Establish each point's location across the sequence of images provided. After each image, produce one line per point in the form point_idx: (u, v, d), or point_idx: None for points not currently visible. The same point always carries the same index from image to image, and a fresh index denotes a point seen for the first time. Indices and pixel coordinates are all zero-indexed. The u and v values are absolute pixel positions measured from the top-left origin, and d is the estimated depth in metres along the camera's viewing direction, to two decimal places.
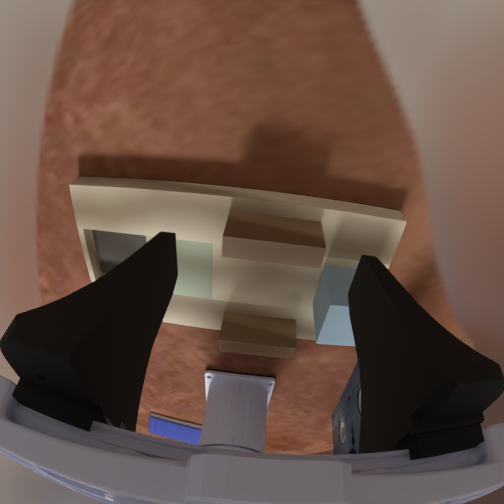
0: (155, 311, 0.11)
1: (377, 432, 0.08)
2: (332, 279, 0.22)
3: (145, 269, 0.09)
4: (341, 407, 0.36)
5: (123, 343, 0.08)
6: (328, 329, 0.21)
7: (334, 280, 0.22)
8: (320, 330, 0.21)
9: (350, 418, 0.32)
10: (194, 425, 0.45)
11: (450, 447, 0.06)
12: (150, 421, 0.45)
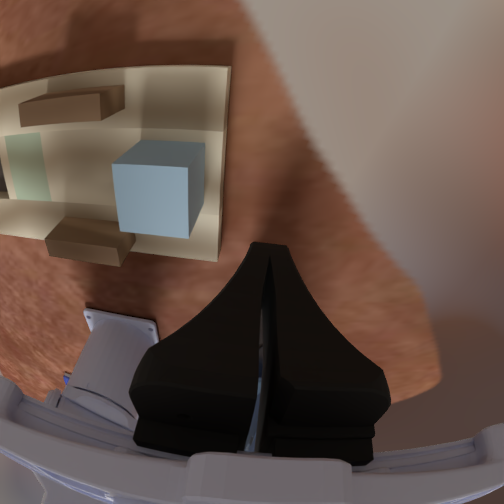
0: None
1: (259, 430, 0.08)
2: (137, 147, 0.16)
3: (263, 284, 0.09)
4: None
5: None
6: (124, 206, 0.16)
7: (139, 148, 0.16)
8: (118, 208, 0.16)
9: None
10: None
11: None
12: (66, 382, 0.40)
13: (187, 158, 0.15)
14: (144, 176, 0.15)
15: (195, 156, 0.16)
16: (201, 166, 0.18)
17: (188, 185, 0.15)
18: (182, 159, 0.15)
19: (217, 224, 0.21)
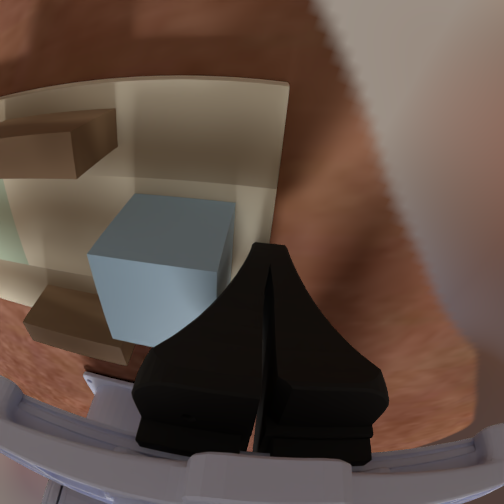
0: None
1: (258, 430, 0.08)
2: (129, 213, 0.11)
3: (265, 284, 0.09)
4: None
5: None
6: (115, 312, 0.10)
7: (133, 214, 0.11)
8: None
9: None
10: None
11: None
12: None
13: (212, 244, 0.10)
14: (142, 278, 0.09)
15: (225, 238, 0.10)
16: (230, 241, 0.12)
17: (217, 294, 0.09)
18: (205, 246, 0.10)
19: None
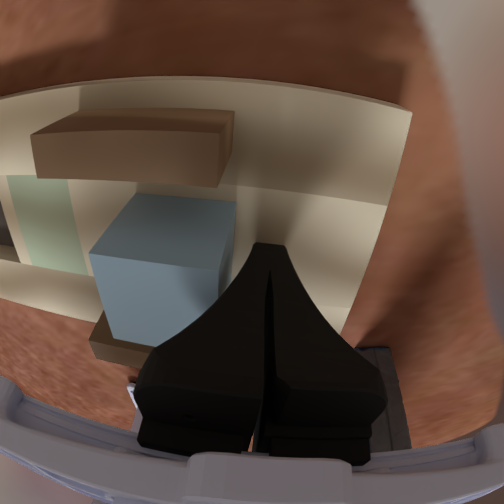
0: None
1: (257, 430, 0.08)
2: (130, 212, 0.11)
3: (266, 284, 0.09)
4: None
5: None
6: (116, 311, 0.10)
7: (134, 214, 0.11)
8: None
9: None
10: None
11: None
12: None
13: (214, 244, 0.10)
14: (143, 277, 0.09)
15: (226, 237, 0.10)
16: (231, 241, 0.12)
17: (218, 293, 0.09)
18: (206, 245, 0.10)
19: (345, 317, 0.15)
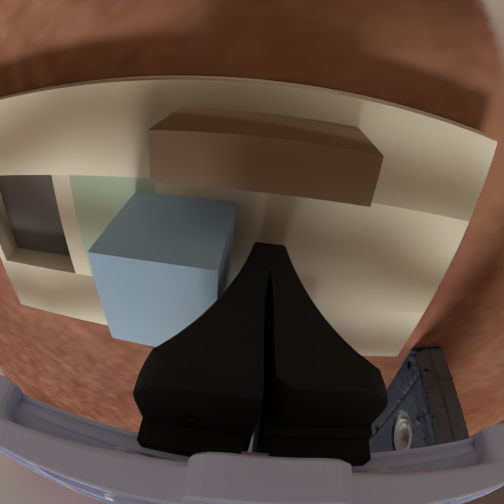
0: None
1: (257, 430, 0.08)
2: (130, 211, 0.11)
3: (266, 284, 0.09)
4: None
5: None
6: (115, 310, 0.10)
7: (133, 213, 0.11)
8: None
9: None
10: None
11: None
12: None
13: (213, 243, 0.10)
14: (143, 276, 0.09)
15: (226, 237, 0.10)
16: (231, 241, 0.12)
17: (217, 293, 0.09)
18: (206, 244, 0.10)
19: (417, 321, 0.15)
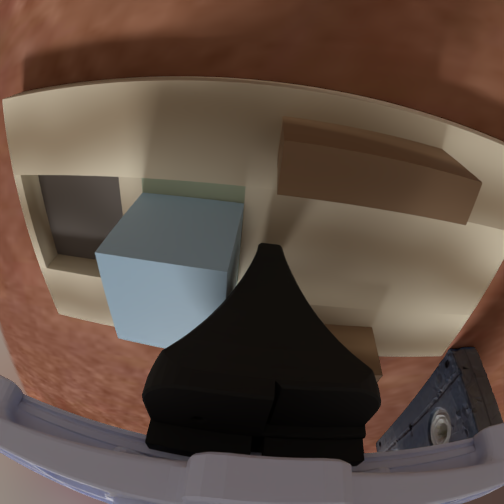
0: None
1: None
2: (137, 212, 0.11)
3: (273, 285, 0.09)
4: (395, 435, 0.25)
5: None
6: (122, 311, 0.10)
7: (141, 213, 0.11)
8: None
9: None
10: None
11: None
12: None
13: (222, 244, 0.10)
14: (150, 277, 0.09)
15: (234, 238, 0.10)
16: (238, 242, 0.12)
17: (226, 294, 0.09)
18: (215, 245, 0.10)
19: (464, 323, 0.15)
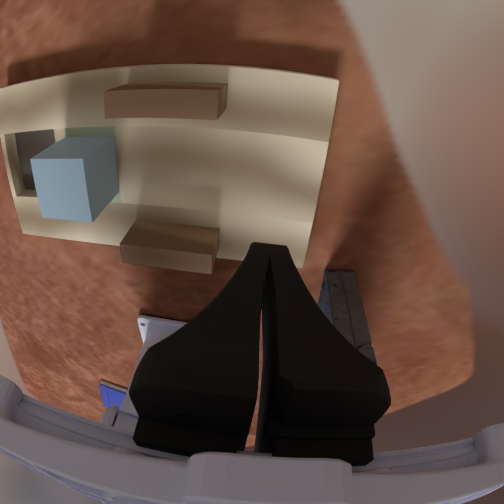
0: None
1: (259, 430, 0.08)
2: (57, 144, 0.17)
3: (263, 284, 0.09)
4: None
5: None
6: (42, 195, 0.16)
7: (59, 144, 0.17)
8: (38, 197, 0.16)
9: None
10: None
11: None
12: (101, 390, 0.40)
13: (88, 151, 0.16)
14: (53, 168, 0.15)
15: (96, 148, 0.16)
16: (109, 157, 0.18)
17: (86, 174, 0.15)
18: (84, 151, 0.16)
19: (309, 231, 0.21)
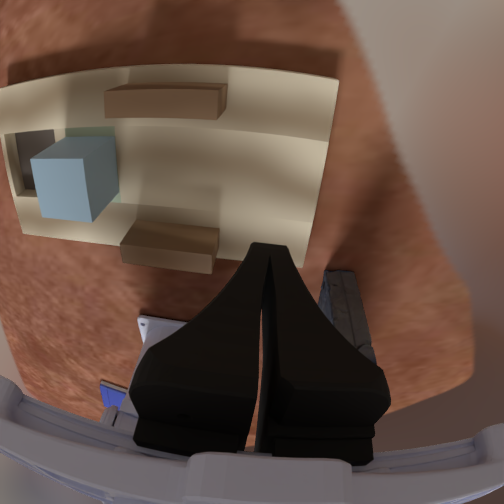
0: None
1: (259, 430, 0.08)
2: (57, 144, 0.17)
3: (263, 284, 0.09)
4: None
5: None
6: (42, 195, 0.16)
7: (59, 144, 0.17)
8: (38, 197, 0.16)
9: None
10: None
11: None
12: (101, 391, 0.40)
13: (88, 151, 0.16)
14: (53, 168, 0.15)
15: (96, 148, 0.16)
16: (109, 157, 0.18)
17: (85, 174, 0.15)
18: (84, 151, 0.16)
19: (309, 231, 0.21)
